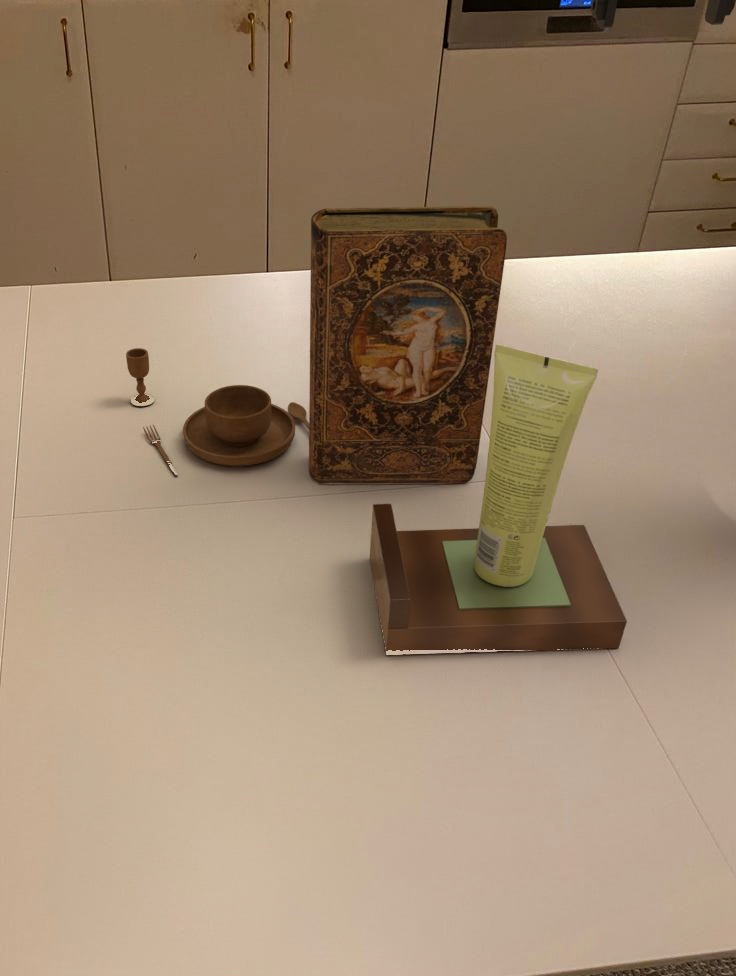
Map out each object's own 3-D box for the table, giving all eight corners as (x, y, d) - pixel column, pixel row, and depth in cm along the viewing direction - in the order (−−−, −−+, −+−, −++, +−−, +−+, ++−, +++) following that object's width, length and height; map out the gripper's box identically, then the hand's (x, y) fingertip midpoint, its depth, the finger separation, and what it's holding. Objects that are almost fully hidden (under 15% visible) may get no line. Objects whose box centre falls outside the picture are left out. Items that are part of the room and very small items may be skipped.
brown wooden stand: (577, 551, 90) (591, 496, 86) (618, 648, 80) (635, 592, 76) (369, 558, 90) (372, 503, 86) (385, 656, 80) (390, 600, 76)
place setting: (177, 489, 99) (172, 438, 95) (122, 399, 113) (116, 351, 109) (335, 451, 103) (337, 400, 99) (264, 369, 117) (263, 321, 113)
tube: (526, 548, 85) (569, 334, 72) (550, 584, 81) (599, 366, 68) (464, 556, 84) (495, 343, 71) (484, 593, 81) (521, 375, 68)
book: (308, 484, 99) (311, 232, 82) (308, 455, 103) (311, 208, 86) (473, 484, 98) (510, 228, 81) (467, 454, 102) (500, 205, 85)
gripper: (629, -252, 63) (579, 39, 74) (852, -261, 63) (769, 32, 74) (596, -253, 68) (555, 18, 79) (801, -261, 68) (731, 11, 79)
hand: (658, 24), depth 77 cm, fingers open, 8 cm apart
